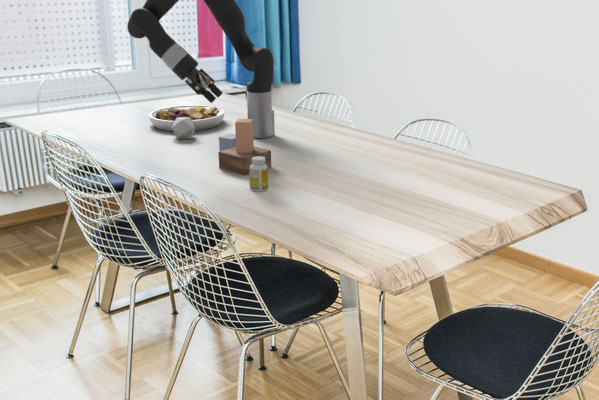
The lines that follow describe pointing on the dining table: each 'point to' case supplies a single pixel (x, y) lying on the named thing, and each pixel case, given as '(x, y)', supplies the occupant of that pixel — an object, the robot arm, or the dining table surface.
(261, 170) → the supplement bottle
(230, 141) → the slate cube
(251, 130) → the pillar block
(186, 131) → the die
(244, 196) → the dining table surface
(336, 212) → the dining table surface
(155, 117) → the bowl
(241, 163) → the walnut block
